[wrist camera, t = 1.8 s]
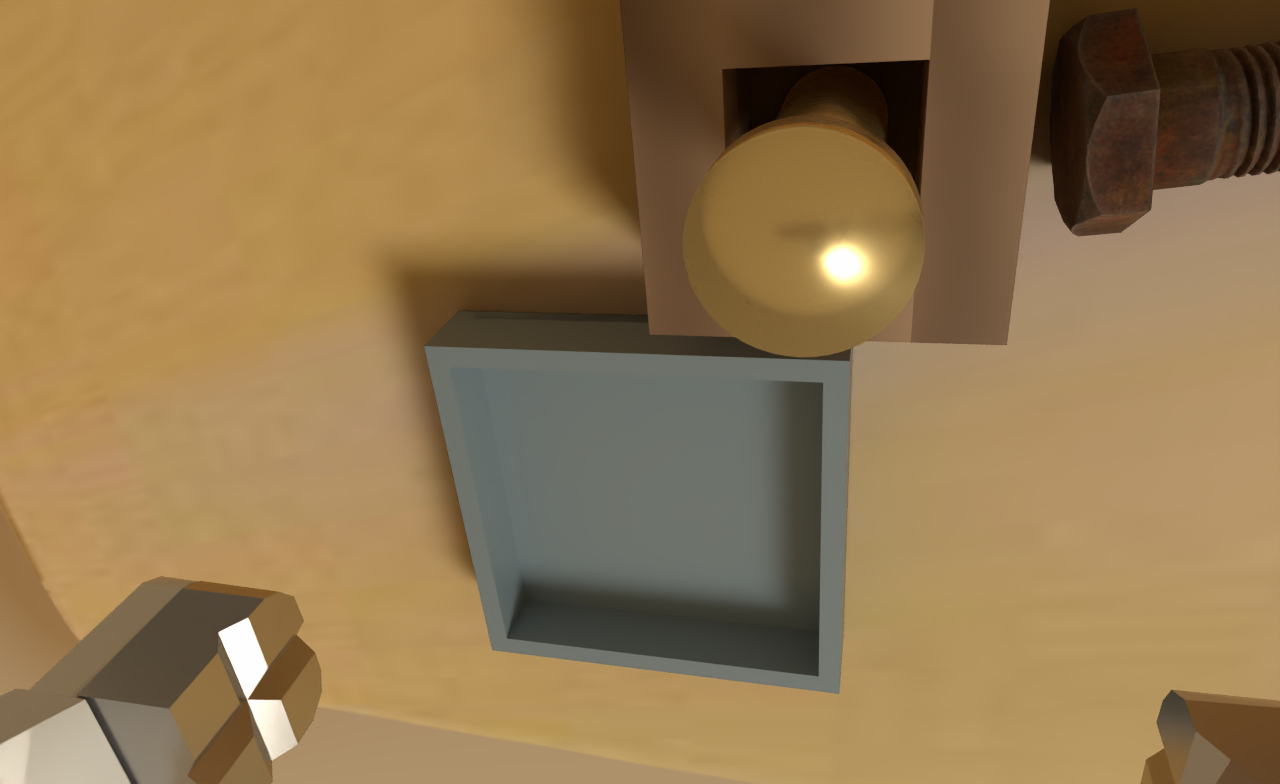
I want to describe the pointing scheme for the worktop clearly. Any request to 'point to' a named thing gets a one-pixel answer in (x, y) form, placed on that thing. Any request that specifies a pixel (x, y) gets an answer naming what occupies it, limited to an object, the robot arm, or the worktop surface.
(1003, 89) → the holder
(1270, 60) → the bolt
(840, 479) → the tray
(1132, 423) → the worktop surface
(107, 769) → the robot arm
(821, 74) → the pin
